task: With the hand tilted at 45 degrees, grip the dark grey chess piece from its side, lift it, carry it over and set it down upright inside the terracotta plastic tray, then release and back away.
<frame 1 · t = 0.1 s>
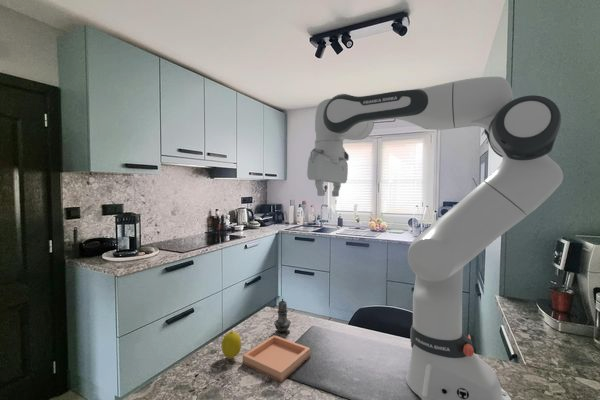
hand: (328, 196, 86), 48 cm above the countertop, tool pointing down, fingers open, 8 cm apart
lemon: (231, 359, 80), on the countertop
dark grey chess piece: (282, 333, 96), on the countertop
tray: (277, 360, 79), on the countertop
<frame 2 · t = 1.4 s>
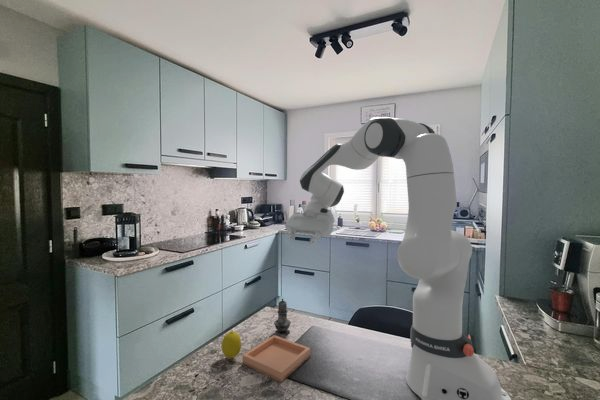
hand: (301, 240, 105), 31 cm above the countertop, tool tilted 45°, fingers open, 8 cm apart
nothing on the countertop moved.
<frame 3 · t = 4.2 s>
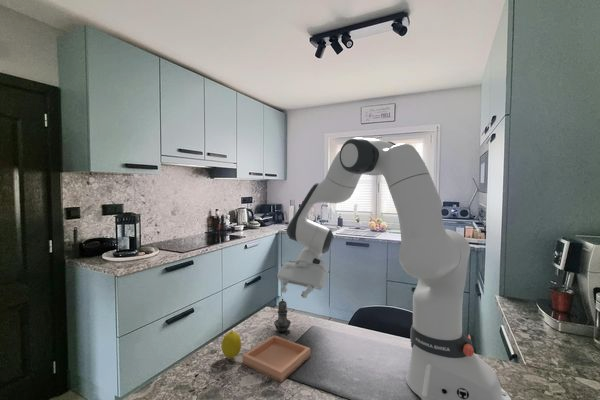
hand: (292, 294, 101), 12 cm above the countertop, tool tilted 45°, fingers open, 8 cm apart
nothing on the countertop moved.
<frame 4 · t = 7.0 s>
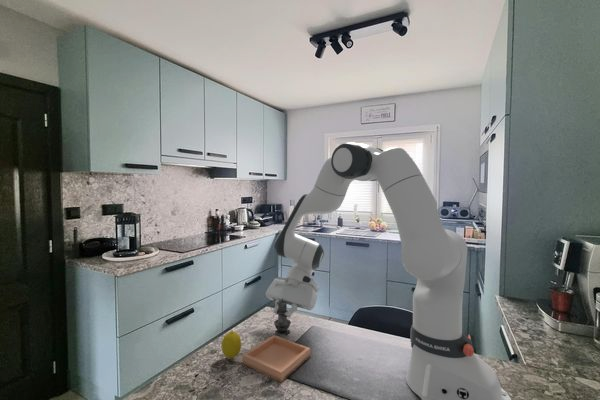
hand: (281, 315, 95), 6 cm above the countertop, tool tilted 45°, fingers closed on dark grey chess piece, 4 cm apart
dark grey chess piece: (282, 333, 96), on the countertop, touching gripper
everything else where it was.
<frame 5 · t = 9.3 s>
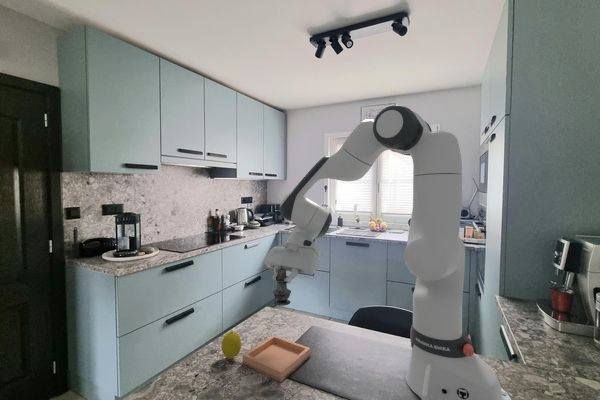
hand: (280, 281, 88), 20 cm above the countertop, tool tilted 45°, fingers closed on dark grey chess piece, 4 cm apart
dark grey chess piece: (282, 303, 88), point 13 cm above the countertop, touching gripper
everything else where it was.
when the fingers open (9 cm above the countertop, at t = 11.9 s): dark grey chess piece stays where it is, resting on tray.
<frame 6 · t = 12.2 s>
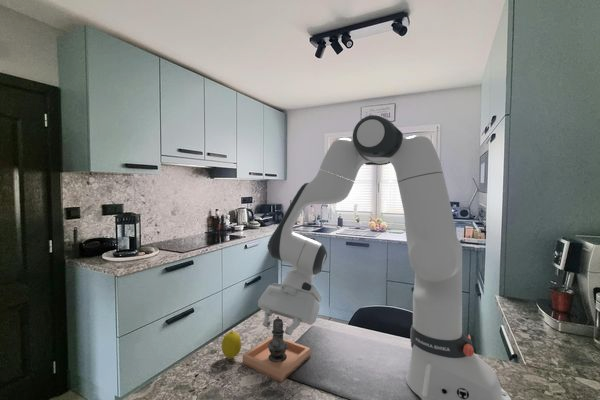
hand: (276, 330, 79), 9 cm above the countertop, tool tilted 45°, fingers open, 7 cm apart
dark grey chess piece: (277, 357, 79), point 1 cm above the countertop, touching tray
everything else where it was.
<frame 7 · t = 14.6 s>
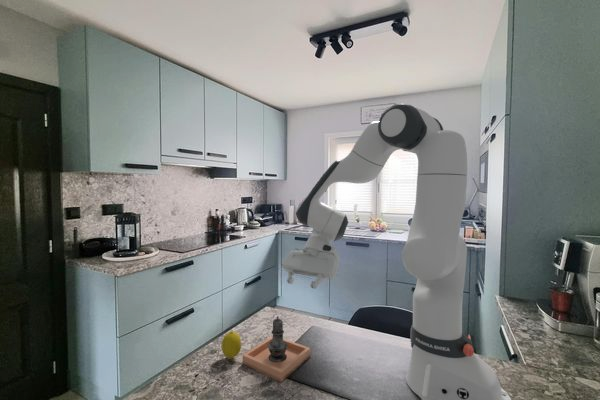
hand: (300, 285, 89), 19 cm above the countertop, tool tilted 45°, fingers open, 8 cm apart
nothing on the countertop moved.
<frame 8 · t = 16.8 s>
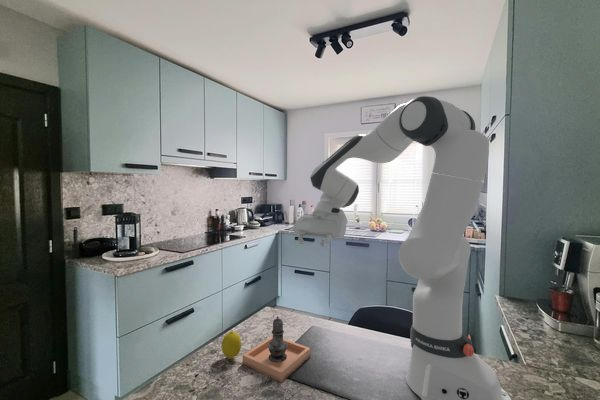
hand: (310, 244, 94), 31 cm above the countertop, tool tilted 45°, fingers open, 8 cm apart
nothing on the countertop moved.
at the end: dark grey chess piece inside the target area on the tray (0.1 cm from its centre), point 0.6 cm above the tray's base; dark grey chess piece tilted 0°; the gripper is holding nothing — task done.
